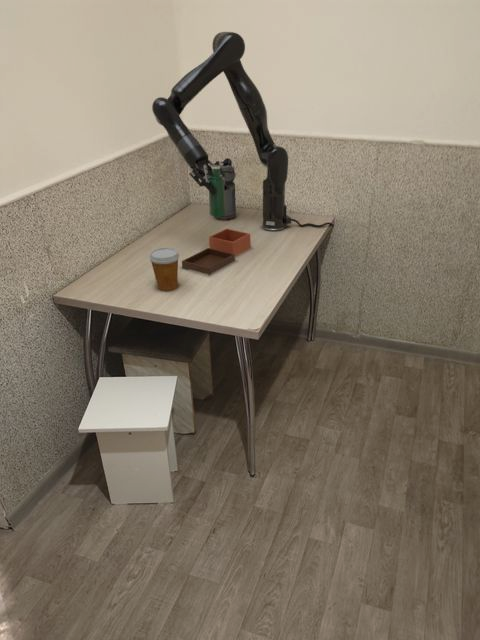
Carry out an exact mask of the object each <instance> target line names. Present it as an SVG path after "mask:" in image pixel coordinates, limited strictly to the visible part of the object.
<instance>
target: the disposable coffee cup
mask: <svg viewBox="0 0 480 640" xmlns="http://www.w3.org/2000/svg"><path fill="white" fill-rule="evenodd" d="M148 258H149V261H150V263H151V266H152V271H153V273H154V278H155V281H156V285H157V289H158V290H159V291H162V292H169V291H174V290H175V289H177V288H178V275H179V274H178V271H179V259H180V254H179V252H178V249H175V248H173V247H172V248H171V247H159V248H156V249H155V248H154V249H152V250H151V251H150V253H149V257H148Z"/></svg>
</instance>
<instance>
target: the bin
mask: <svg viewBox="0 0 480 640" xmlns="http://www.w3.org/2000/svg"><path fill="white" fill-rule="evenodd" d="M208 243H209V248H211V249H215V250H219V251H223V252H227V253H231V254H235V257H236V256H238V255H239V254H241V253H244V252H245V251H247V250H249V249H251V233H248V232H243V231H239V230H235V229H231V228H225V229H222V230H220V231H218V232H216V233H214V234H212V235H210V236H208Z"/></svg>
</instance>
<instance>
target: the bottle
mask: <svg viewBox="0 0 480 640" xmlns="http://www.w3.org/2000/svg"><path fill="white" fill-rule="evenodd" d="M211 168H212V175H210V177H209V179H210V183H212V184H213V186H214V187H215V189H216V190H217V193H216V194H215V195H212V194H211V193H210V192H209V191H208V202H209V203H208V205H209V215H210V216H211V217H214V216H215V217H220V216H224V215H225V214H226V210H225V180H224V177H222V175H221V174H220V166H218V165H214V166H211ZM215 217H214V218H215Z"/></svg>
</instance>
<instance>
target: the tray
mask: <svg viewBox="0 0 480 640" xmlns="http://www.w3.org/2000/svg"><path fill="white" fill-rule="evenodd" d="M235 261H236V256H235V254H231V253H227V252H223V251H219V250H215V249H211V248H210V247H207V248H205V249H203V250H201V251H199V252H197V253H195V254H193V255H191V256H189V257H187V258H184V259H183V260H181V267H182V269H185V270H187V271H189V270H190V271H194V272H198V273H201V274H204V275H207V276H208V277H209V276H211V275H212V274H214V273H215V272H217V271H219V270H221V269H222V268H224V267H226V266H228V265H229V264H232V263H234V262H235Z"/></svg>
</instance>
